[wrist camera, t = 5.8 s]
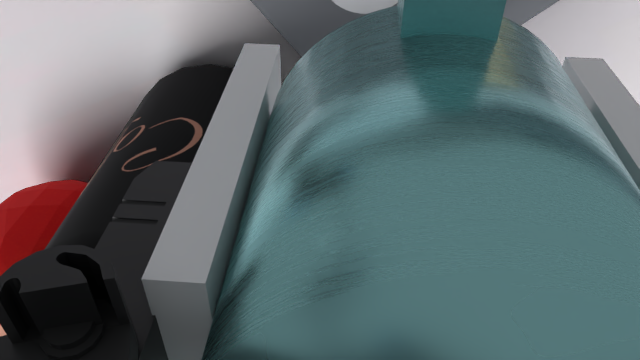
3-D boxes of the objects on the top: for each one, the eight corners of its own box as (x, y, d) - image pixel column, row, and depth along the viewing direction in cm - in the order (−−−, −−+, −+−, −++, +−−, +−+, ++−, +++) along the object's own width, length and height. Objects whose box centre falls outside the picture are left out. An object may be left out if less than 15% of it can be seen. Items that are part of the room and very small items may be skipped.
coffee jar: (228, 22, 31) (112, 243, 17) (334, 147, 36) (313, 397, 22) (112, 110, 35) (-57, 343, 21) (221, 210, 40) (142, 451, 26)
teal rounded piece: (247, -186, 7) (-125, -22, 2) (698, -179, 7) (1909, 48, 1) (279, 312, 14) (221, 659, 9) (506, 327, 14) (595, 698, 8)
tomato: (-14, 191, 41) (-149, 345, 30) (102, 109, 35) (-14, 261, 25) (135, 303, 48) (70, 457, 38) (250, 249, 43) (211, 413, 32)
